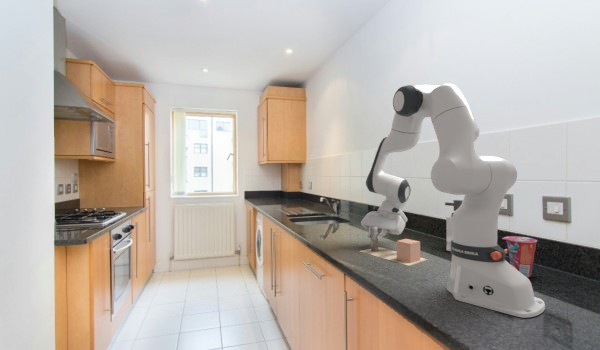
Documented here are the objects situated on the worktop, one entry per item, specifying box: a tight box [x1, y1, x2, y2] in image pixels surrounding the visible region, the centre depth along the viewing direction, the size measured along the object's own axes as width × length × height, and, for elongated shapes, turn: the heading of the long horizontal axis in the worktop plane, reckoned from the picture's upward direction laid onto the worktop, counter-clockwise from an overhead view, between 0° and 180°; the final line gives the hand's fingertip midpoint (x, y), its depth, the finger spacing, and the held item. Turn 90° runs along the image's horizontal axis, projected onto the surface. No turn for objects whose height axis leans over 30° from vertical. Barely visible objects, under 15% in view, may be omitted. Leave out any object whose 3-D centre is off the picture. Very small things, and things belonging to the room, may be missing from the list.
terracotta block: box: [396, 238, 421, 263], centre depth 110 cm, size 6×6×7 cm
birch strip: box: [359, 226, 429, 267], centre depth 116 cm, size 24×12×11 cm, turn 34°
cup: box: [501, 235, 538, 278], centre depth 97 cm, size 9×8×12 cm
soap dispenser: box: [444, 199, 464, 252], centre depth 127 cm, size 6×9×22 cm
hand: (373, 238), depth 123 cm, fingers closed on birch strip, 3 cm apart
